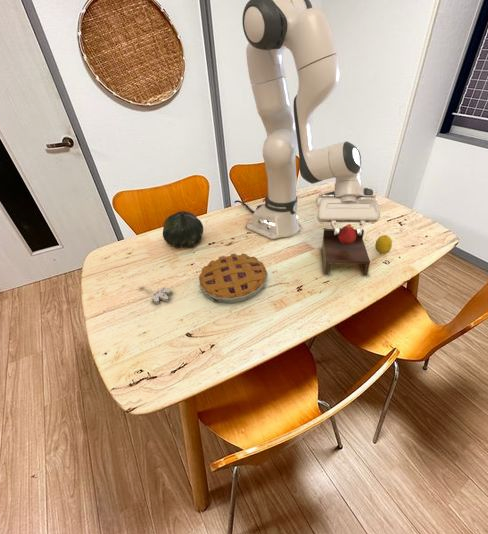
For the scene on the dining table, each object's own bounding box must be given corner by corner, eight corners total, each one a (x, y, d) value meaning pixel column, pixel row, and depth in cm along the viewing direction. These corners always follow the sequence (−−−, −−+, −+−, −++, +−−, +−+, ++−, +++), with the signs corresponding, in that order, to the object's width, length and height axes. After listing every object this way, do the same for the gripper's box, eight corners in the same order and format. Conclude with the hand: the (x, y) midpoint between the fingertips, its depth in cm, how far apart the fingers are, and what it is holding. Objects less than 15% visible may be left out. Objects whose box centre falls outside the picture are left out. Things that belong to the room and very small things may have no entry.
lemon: (389, 259, 99) (395, 240, 94) (373, 257, 100) (378, 238, 95) (388, 250, 104) (393, 231, 99) (372, 248, 105) (377, 230, 100)
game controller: (165, 305, 83) (163, 299, 82) (131, 301, 85) (128, 295, 84) (174, 292, 88) (172, 286, 86) (141, 289, 89) (139, 282, 88)
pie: (194, 272, 95) (191, 261, 92) (254, 256, 102) (253, 245, 99) (209, 316, 80) (206, 303, 77) (278, 293, 86) (278, 281, 83)
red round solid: (344, 251, 91) (347, 230, 86) (333, 243, 95) (336, 222, 90) (358, 246, 93) (361, 225, 88) (347, 238, 97) (350, 218, 92)
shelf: (321, 249, 105) (323, 228, 99) (359, 250, 104) (363, 229, 99) (324, 274, 93) (327, 252, 88) (366, 275, 92) (372, 253, 87)
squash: (165, 221, 113) (156, 206, 99) (202, 218, 116) (199, 203, 102) (168, 255, 111) (160, 244, 96) (206, 250, 114) (204, 239, 100)
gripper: (317, 190, 90) (316, 232, 89) (381, 190, 89) (382, 232, 87) (315, 197, 97) (315, 236, 95) (375, 198, 95) (376, 237, 93)
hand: (347, 234), depth 91 cm, fingers closed on red round solid, 6 cm apart
